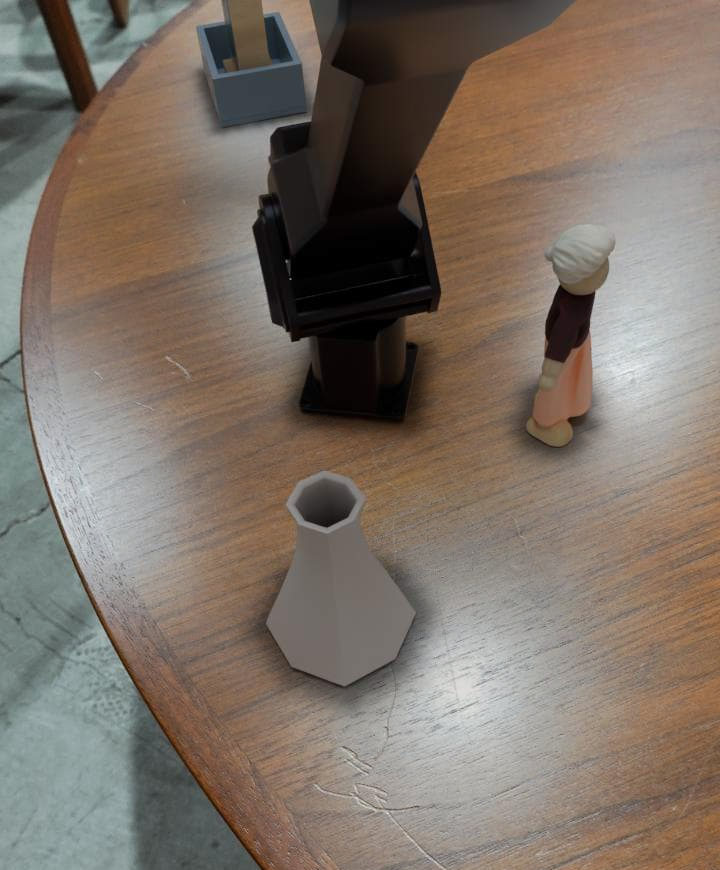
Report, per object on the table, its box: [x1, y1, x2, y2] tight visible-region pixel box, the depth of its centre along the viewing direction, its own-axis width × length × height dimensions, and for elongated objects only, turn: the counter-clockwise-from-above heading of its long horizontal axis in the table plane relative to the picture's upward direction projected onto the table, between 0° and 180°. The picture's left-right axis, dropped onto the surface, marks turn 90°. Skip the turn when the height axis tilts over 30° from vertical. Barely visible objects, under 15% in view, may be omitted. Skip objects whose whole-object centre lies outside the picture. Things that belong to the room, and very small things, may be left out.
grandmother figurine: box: [525, 223, 616, 448], centre depth 48 cm, size 8×4×13 cm, turn 171°
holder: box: [195, 11, 308, 128], centre depth 74 cm, size 9×7×4 cm
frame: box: [220, 0, 273, 73], centre depth 71 cm, size 6×4×12 cm, turn 15°
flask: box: [265, 469, 417, 687], centre depth 42 cm, size 7×7×10 cm
